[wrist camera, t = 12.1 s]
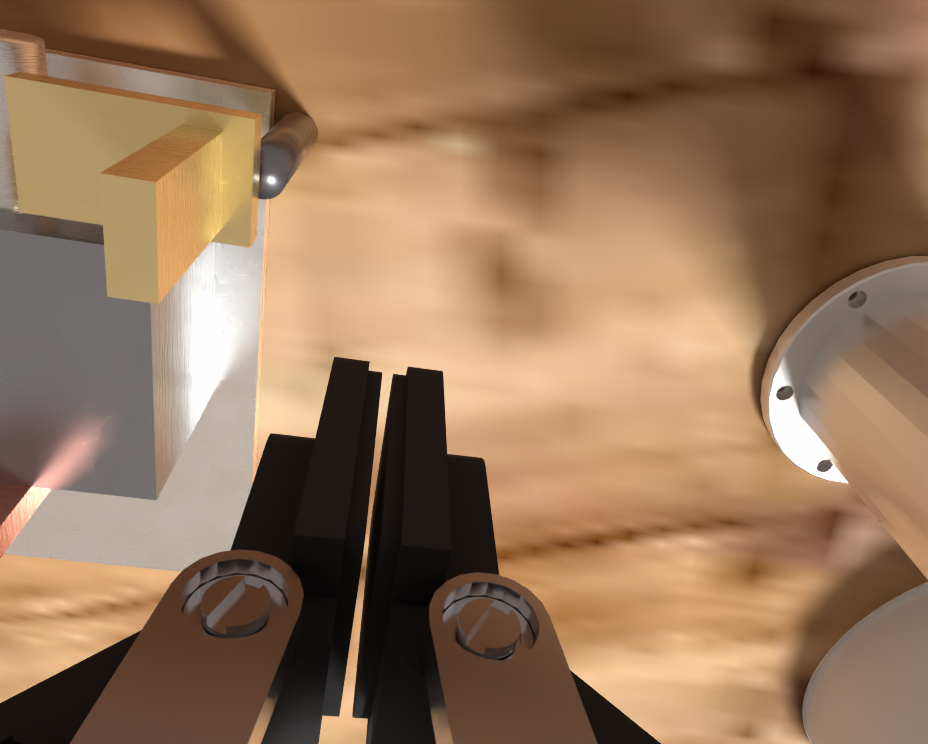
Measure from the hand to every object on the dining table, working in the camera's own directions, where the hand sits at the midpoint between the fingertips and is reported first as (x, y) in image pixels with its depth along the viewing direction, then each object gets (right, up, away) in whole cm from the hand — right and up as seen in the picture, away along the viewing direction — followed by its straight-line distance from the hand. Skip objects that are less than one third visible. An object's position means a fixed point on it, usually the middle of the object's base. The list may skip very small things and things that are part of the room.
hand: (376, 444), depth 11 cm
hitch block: (-15, +2, +23) cm, 28 cm away
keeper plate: (-9, +8, +11) cm, 16 cm away
